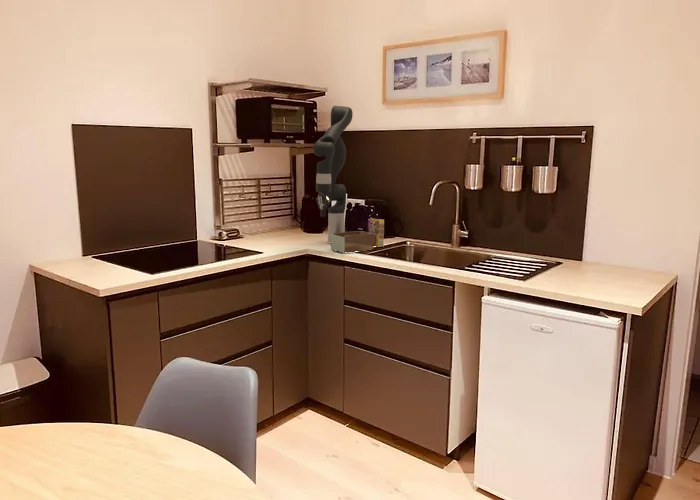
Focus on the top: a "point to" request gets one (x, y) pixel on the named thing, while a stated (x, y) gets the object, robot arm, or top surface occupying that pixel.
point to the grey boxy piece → (338, 243)
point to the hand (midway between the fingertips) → (323, 216)
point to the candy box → (376, 231)
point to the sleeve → (357, 240)
